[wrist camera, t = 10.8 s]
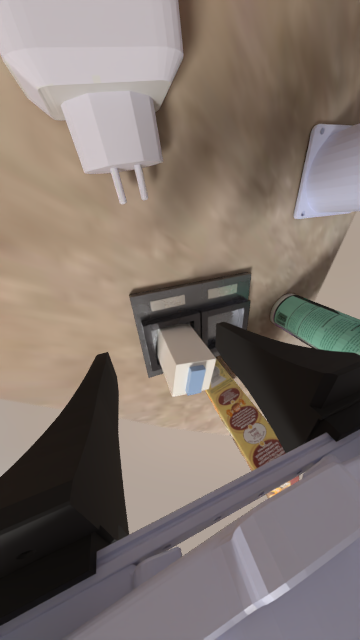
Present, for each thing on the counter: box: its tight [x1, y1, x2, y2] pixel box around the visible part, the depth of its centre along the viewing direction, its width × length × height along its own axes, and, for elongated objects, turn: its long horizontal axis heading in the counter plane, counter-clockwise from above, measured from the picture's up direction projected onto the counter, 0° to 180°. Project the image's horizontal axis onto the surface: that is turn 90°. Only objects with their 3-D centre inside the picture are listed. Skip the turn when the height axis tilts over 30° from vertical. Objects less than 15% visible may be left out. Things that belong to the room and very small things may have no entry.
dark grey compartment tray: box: [129, 272, 251, 378], centre depth 23 cm, size 15×12×2 cm
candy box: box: [205, 357, 299, 498], centre depth 24 cm, size 9×4×15 cm, turn 23°
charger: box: [0, 0, 183, 204], centre depth 10 cm, size 5×9×15 cm
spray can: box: [270, 293, 360, 355], centre depth 20 cm, size 6×6×20 cm
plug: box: [156, 324, 216, 397], centre depth 20 cm, size 4×4×8 cm
